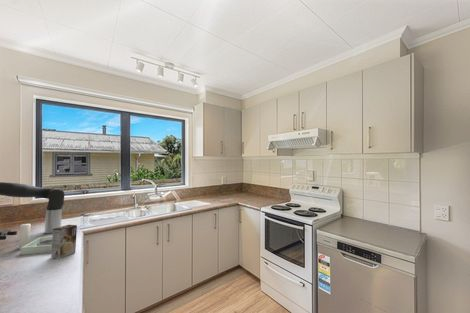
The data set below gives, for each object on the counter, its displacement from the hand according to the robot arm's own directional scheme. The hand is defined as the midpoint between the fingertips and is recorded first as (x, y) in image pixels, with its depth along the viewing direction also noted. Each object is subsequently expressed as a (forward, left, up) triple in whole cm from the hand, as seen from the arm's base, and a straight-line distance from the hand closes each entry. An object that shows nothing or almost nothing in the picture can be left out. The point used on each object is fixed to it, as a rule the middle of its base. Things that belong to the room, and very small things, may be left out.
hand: (11, 235), depth 123 cm
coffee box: (+18, +35, -8) cm, 40 cm away
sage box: (+3, +20, -8) cm, 21 cm away
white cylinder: (0, +7, -8) cm, 10 cm away
